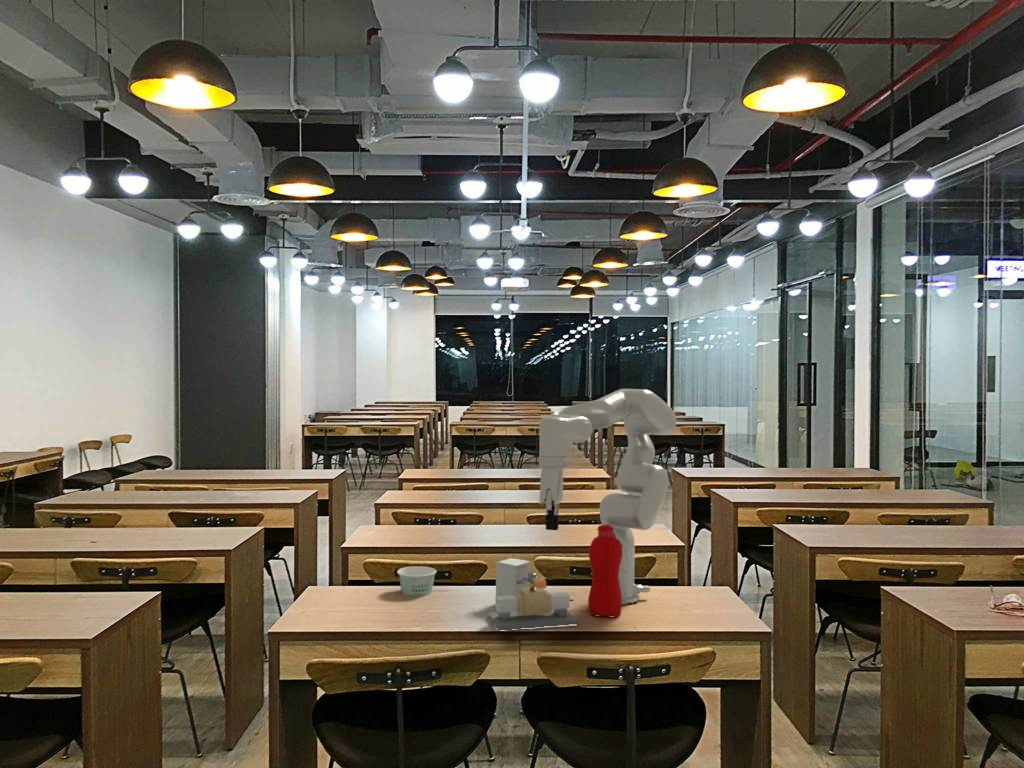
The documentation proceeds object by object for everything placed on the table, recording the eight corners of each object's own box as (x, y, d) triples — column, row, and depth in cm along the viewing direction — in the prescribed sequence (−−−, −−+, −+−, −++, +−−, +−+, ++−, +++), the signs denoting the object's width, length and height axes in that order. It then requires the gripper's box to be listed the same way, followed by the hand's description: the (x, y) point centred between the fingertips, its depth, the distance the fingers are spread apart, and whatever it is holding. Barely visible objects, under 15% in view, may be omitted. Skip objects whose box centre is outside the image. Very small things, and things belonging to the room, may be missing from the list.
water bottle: (626, 619, 241) (627, 529, 240) (586, 617, 243) (587, 528, 243) (628, 610, 250) (629, 523, 249) (590, 607, 253) (591, 521, 252)
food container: (405, 599, 260) (405, 577, 260) (391, 589, 270) (391, 568, 270) (442, 594, 266) (442, 573, 265) (426, 585, 276) (427, 564, 276)
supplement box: (515, 609, 250) (515, 565, 250) (494, 604, 255) (495, 561, 254) (530, 603, 256) (530, 560, 256) (510, 599, 261) (510, 557, 260)
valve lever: (526, 579, 239) (526, 572, 239) (536, 578, 240) (536, 572, 240) (536, 588, 229) (536, 581, 229) (546, 588, 230) (546, 581, 230)
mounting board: (564, 613, 247) (564, 608, 247) (577, 626, 235) (577, 620, 235) (488, 618, 242) (488, 613, 241) (498, 631, 230) (498, 626, 230)
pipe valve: (564, 611, 244) (564, 576, 243) (570, 617, 238) (571, 581, 238) (494, 615, 239) (494, 580, 238) (499, 622, 233) (499, 586, 233)
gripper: (544, 458, 245) (543, 523, 246) (533, 464, 231) (532, 533, 231) (571, 459, 244) (570, 525, 244) (561, 466, 229) (560, 535, 230)
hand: (552, 529), depth 238 cm, fingers closed
